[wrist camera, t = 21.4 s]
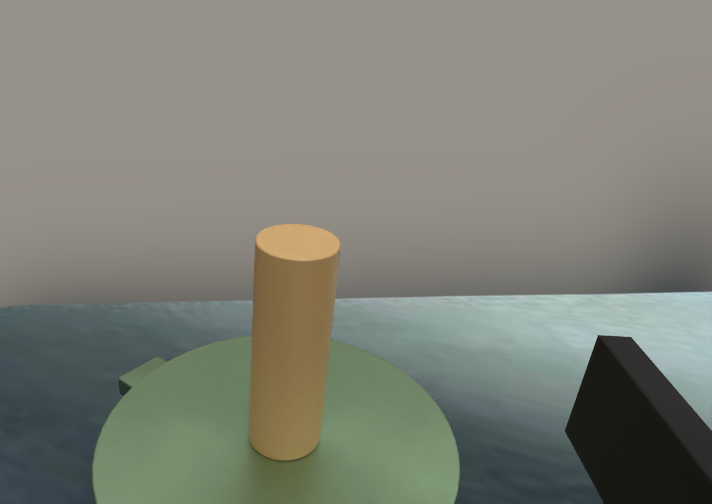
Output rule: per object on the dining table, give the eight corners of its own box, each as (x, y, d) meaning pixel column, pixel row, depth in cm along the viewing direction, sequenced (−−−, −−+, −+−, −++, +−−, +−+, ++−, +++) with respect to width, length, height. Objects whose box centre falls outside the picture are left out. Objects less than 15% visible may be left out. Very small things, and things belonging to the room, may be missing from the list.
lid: (266, 320, 34) (274, 152, 29) (505, 438, 27) (562, 243, 23) (11, 475, 22) (-38, 236, 18) (318, 747, 15) (361, 472, 11)
